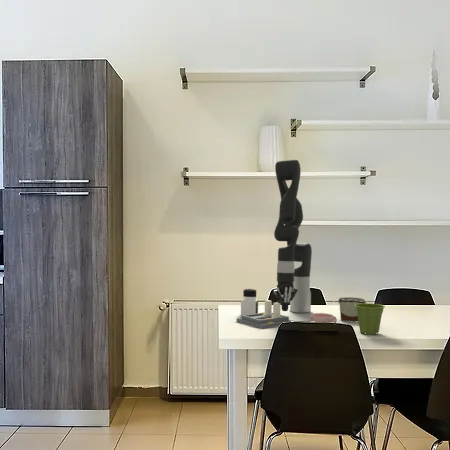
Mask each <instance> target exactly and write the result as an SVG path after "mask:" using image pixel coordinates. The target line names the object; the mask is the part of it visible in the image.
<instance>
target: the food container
mask: <svg viewBox="0 0 450 450" xmlns="http://www.w3.org/2000/svg"><path fill="white" fill-rule="evenodd" d="M337 303H338V304H339V314H340V321H341V322H349V321H358V314H357V311H356V306H355V304H361V303H367V301H366V299H365V298H362V297H350V296H348V297H339V299H338V300H337Z"/></svg>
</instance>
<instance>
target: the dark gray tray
mask: <svg viewBox="0 0 450 450" xmlns="http://www.w3.org/2000/svg"><path fill="white" fill-rule="evenodd" d="M262 314H265V311H262V312H258V313H257V314H249V315H241V314H240V316H241V317H237V318H236V322H237V323H240V324H244V325H248V326H250V327H255V328H257V329H260V330H261V329H268V328H269V329H270V328H275V327H280V326H279V325H280V324H281V323H283V322H291V321H294V320H293V319H290V316H287V315H282V314H280V317H278V318H271V317H273V312H272V314H270V315H262Z"/></svg>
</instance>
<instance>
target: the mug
mask: <svg viewBox="0 0 450 450" xmlns="http://www.w3.org/2000/svg"><path fill="white" fill-rule="evenodd" d="M309 318H310V319H309V322H310V321H315V322H334V323H336V324H337V323H338V319H337V317H336V316H334V315H333V314H332V313H323V312H320V313H319V312H318V313H316V312H315V313H311V314H310V317H309Z"/></svg>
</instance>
